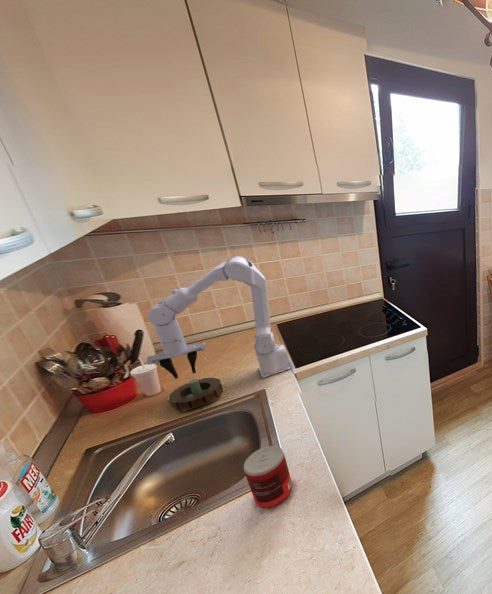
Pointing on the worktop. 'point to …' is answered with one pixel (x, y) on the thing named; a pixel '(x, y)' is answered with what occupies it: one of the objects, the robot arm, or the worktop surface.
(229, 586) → the worktop surface
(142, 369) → the smoothie
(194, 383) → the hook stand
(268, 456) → the canned food
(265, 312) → the robot arm
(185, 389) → the walnut ring
